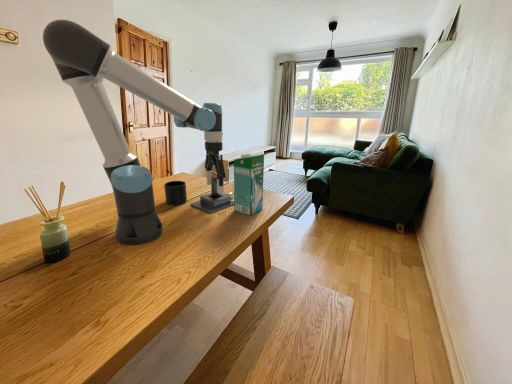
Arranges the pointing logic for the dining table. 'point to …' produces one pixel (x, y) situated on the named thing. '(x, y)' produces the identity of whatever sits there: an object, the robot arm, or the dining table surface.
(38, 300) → the dining table surface
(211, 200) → the grey peg hole base
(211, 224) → the dining table surface
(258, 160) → the milk carton
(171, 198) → the mug
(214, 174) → the copper tipped cylinder
